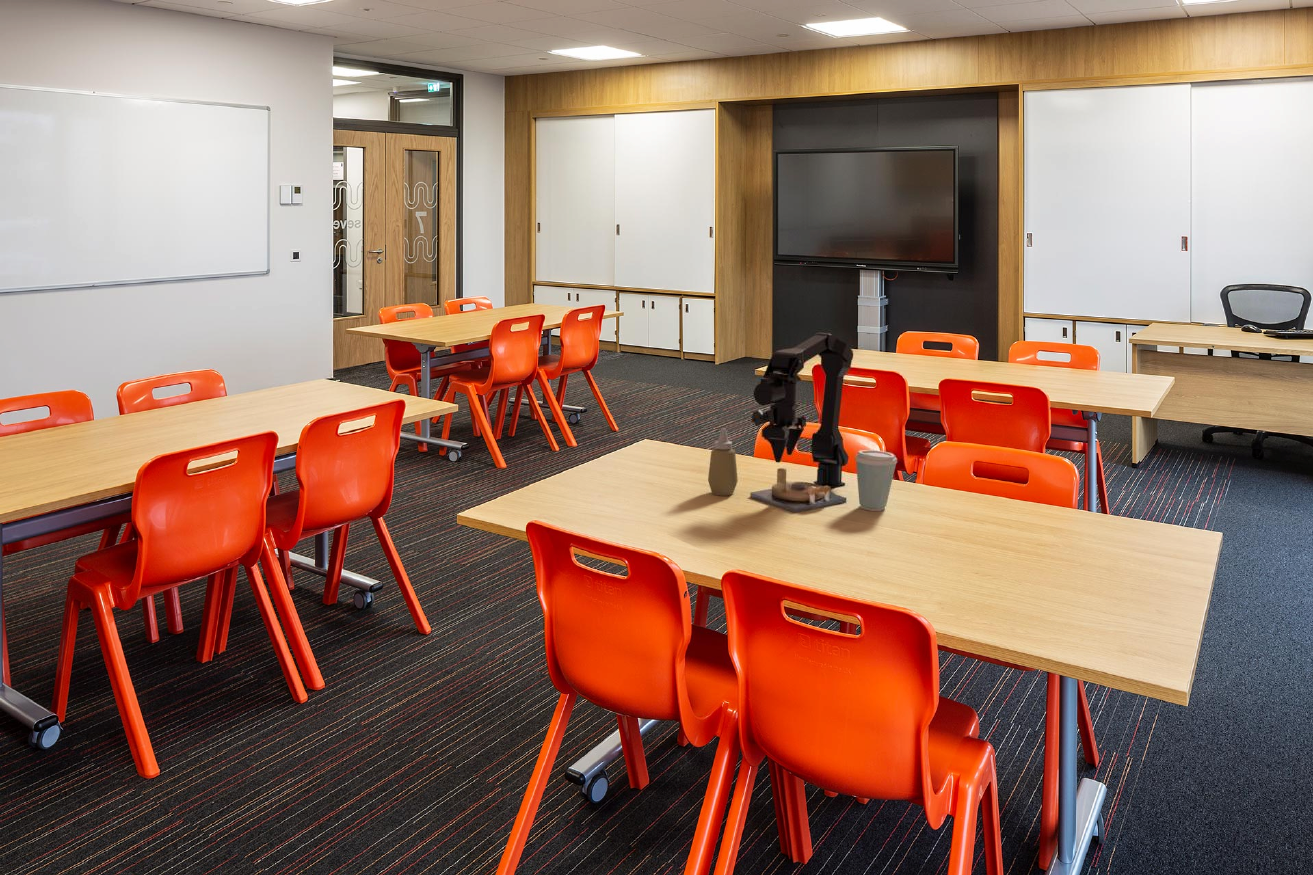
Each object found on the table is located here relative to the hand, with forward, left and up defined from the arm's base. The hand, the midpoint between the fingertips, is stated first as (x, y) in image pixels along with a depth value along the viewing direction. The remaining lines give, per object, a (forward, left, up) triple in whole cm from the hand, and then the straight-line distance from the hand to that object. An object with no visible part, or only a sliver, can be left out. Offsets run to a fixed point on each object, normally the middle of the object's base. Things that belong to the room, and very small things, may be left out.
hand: (783, 458), depth 268 cm
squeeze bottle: (+8, -15, -12) cm, 21 cm away
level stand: (-5, +1, -12) cm, 13 cm away
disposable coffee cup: (-16, +18, -12) cm, 27 cm away
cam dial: (-5, +1, -10) cm, 11 cm away
